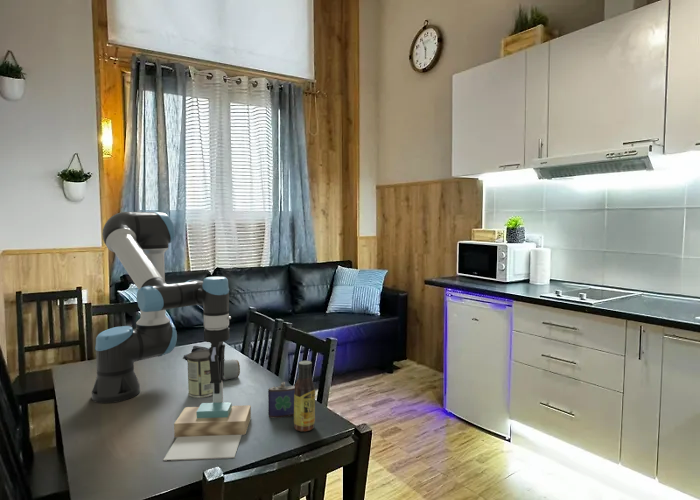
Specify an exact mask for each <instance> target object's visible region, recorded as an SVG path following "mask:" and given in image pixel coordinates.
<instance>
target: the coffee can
mask: <svg viewBox="0 0 700 500" xmlns="http://www.w3.org/2000/svg"><path fill="white" fill-rule="evenodd" d="M186 355H187V354H186ZM209 355H210V353H209V350H200V351H195V352H192V353H191V352H190V353H188V355H187V358H188V360H187V380H188V381H187V382H188V383H187V384H188V386H187V387H188V388H187V389H188V393H187V395H188V396H189V397H191V398H195V399H199V398H200V399H202V398H206V397H207V398H208V397H211V396H212V397H213V383H210V381H211V375H210V363H209V358H208V356H209Z"/></svg>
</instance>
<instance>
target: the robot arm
mask: <svg viewBox="0 0 700 500" xmlns="http://www.w3.org/2000/svg"><path fill="white" fill-rule="evenodd" d="M175 235H176V231H175V226H174V222H173V220H172V218H171V217H170V216H169V215H168V214H166V213H165V212H160V211H159V212H157V211H121V212H118V213H116V214H114V215H112V216H111V217H109V218H108V219H107V221H106V222H105V224H104V226H103V228H102V240H103V242H104V245H105V246H106V248H107V249H108V250H109V251H111V252H112V253H114V254H115V256H116V257H117V258H118V260H119V261H120V263H121V264H122V267H123V268H124V269H125V271H126V272H127V274H128V275H129V277H130V279H131V280H132V281H133V284H135V286H136V288H137V289H138V290H137V292H136V303H137V307H138V308H139V310H140V311H139V312H140V318H139V319H138V320H137V321H136V322H135V323H136V324H135V325H136V326H135V327H136V328H133V327H132V326H130V325H122V326H121V325H120V326H115V327H111V328H108V329H106V330H103V331H101V332H99V333H98V334H97V336H96V337H95V347H94V350H95V361H96V362H95V363H96V377H95V378H96V379H95V381H94V384H93V386H92V390H91V400H92V401H93V402H94V403H99V404H100V403H101V404H112V403H118V402H123V401H126V400H129V399H131V398H135V397H136V396H137V395H139V393H141V385H140V382H139V380H138V377H137V374H136V372H135V362H140V361H144V360H149V359H152V358H157V357H162V356H164V355H168V354H170V353H172V352H173V350H174V349H175V347H176V344H177V341H178V340H177V339H178V334H177V333H178V332H177V330H176V326H175V324H173V322H171V319H170V318H169V317H167V314H166V311H167V310H170V309H178V308H179V309H180V308H184V307H185V308H186V307H191V306H203V307H202V308H203V328H204V329H203V340H204V341H205V343H210V347H208V348H209V353H210V355H209V356H208V358H209V363H210V375H211V381H210V383H213V395H212V403H223V401H224V388H223V387H224V386H223V385H224V384H223V383H224V382H223V381H226V380H225V377H223V376H224V359H225V351H226V350H225V349H226V344H225V343H224V342H226V341H228V340H229V339H230V338H231V337H230V327H229V326H230V320H231V319H232V317H231V316H230V288H229V279H228V278H227V277H226V276H208V277H205V278H203V279H202V280H199V279H189V280H187V281H185V282H177V283H176V282H175V283H167V282H166V281H165V280H166V277H165V275H166V274H165V272H166V271H165V270H166V269H165V268H166V267H165V253H166V252H167V251H168V250H169V244H171V243H173V241H174V240H175Z"/></svg>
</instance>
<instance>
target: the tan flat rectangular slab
mask: <svg viewBox="0 0 700 500" xmlns="http://www.w3.org/2000/svg"><path fill="white" fill-rule="evenodd" d="M199 407H200V406H187V407H186V406H185V407H184V408H183V410H182V411H181V412H180V414H179V416H178V417H177V419H176V420H175V421H174V423H173V429H174V431H173V432H174V434H173V435H174V438H177V437H188V436H216V435H242V436H243V435H246V434H247V431H248V428H249V425H250V421H251V418H252V412H251V411H252V406H251V404H250V405H249V404H248V405H232V409H231V411H230V414H229V416H228V417H220V418H197V410H198V408H199Z"/></svg>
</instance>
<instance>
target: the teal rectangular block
mask: <svg viewBox="0 0 700 500" xmlns="http://www.w3.org/2000/svg"><path fill="white" fill-rule="evenodd" d="M232 403H233V402H231V401H229V402H226V401H224V402H222V403H213V402H201V404H200V405H199V406H198V407H199V408H198V410H197V418H220V417H228V416H229V414H230V411H231V409H232V406H233V405H232Z"/></svg>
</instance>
